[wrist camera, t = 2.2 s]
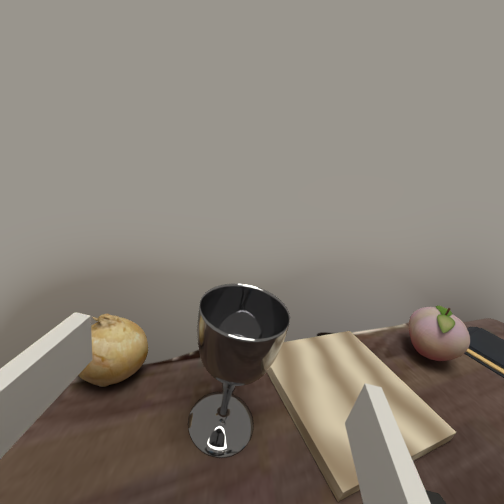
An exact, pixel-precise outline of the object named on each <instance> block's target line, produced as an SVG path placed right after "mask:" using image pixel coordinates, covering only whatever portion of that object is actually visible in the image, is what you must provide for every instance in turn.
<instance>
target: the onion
mask: <svg viewBox="0 0 504 504" xmlns="http://www.w3.org/2000/svg"><path fill="white" fill-rule="evenodd" d="M92 318H93V319H95V320H96V321H98V322H97V323H95V324H93V325H92V326H91V336H92V361H91V362H90V363H89V364H88V365H87V366H86V367H85V368H84V369H83V371H82V372H81V373H80V374H79V375H78V376H79V377H80V378H82V379H83V380H85V381H87V382H89V383H92V384H94V385H98V386H99V387H100V386H101V387H105V386H108V385H110V384H115V383H118V382H121V381H123V380H125V379H127V378H128V377H130V376H131V375H133V374H134V373H135V372H136V371H138V369H139V368H140V367H141V366H142V365H143V363H144V361H145V359H146V357H147V353H148V344H147V339H146V335H145V333H144V331H143V330H142V329H141V328H140V327H139V326H138V325H137V324H135V323H133V322H132V321H130V320H127V319H125V318H119V317H118V316H111V315H110V314H103V315H101V316H100V317H99V318H95V317H92Z"/></svg>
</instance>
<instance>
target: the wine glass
mask: <svg viewBox="0 0 504 504" xmlns="http://www.w3.org/2000/svg"><path fill="white" fill-rule="evenodd" d="M289 320H290V315H289V311H288V309H287V307H286V306H285V304H284V303H283V302H282V301H281V300H280V299H279V298H277V297H276V296H274V295H273V294H271V293H270V292H267V291H265V290H263V289H261V288H258V287H254V286H250V285H245V284H225V285H220V286H217V287H214V288H212V289H210V290H209V291H207V292H206V293H205V294H204V295H203V297H202V299H201V301H200V306H199V313H198V325H197V338H198V347H199V353H200V357H201V360H202V363H203V365H204V367H205V368H206V370H207V371H208V372H209V373H210V374H211V375H212V376H213V377H214V378H215V379H216V380H218V381H220V382H222V385H223V392H213V393H210V394H207V395H205V396H203V397H202V398H201V399H199V400H198V401H197V402H196V403H195V405H194V406H193V408H192V410H191V412H190V415H189V418H188V430H189V434H190V437H191V439H192V441H193V443H194V444H195V445H196V447H197V448H198V449H200V450H201V451H202V452H204V453H205V454H207V455H210V456H212V457H218V458H225V457H230V456H233V455H235V454H237V453H239V452H240V451H241V450H243V449H244V448H245V446H246V445H247V444H248V442H249V441H250V439H251V436H252V433H253V417H252V414H251V412H250V410H249V408H248V406H247V405H246V403H245V402H244V401H243V400H242V399H240V398H239V397H237V396H236V395H234V394H232V393H233V391H234V389H235V387H236V386H242V385H247V384H250V383H253V382H255V381H257V380H259V379H260V378H261V377H262V376H263V375H264V374H265V373H266V372H267V371H268V370H269V368H270V367H271V365H272V364H273V362H274V361H275V359H276V357H277V355H278V353H279V351H280V349H281V347H282V344H283V341H284V339H285V336H286V333H287V329H288V326H289Z"/></svg>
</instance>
